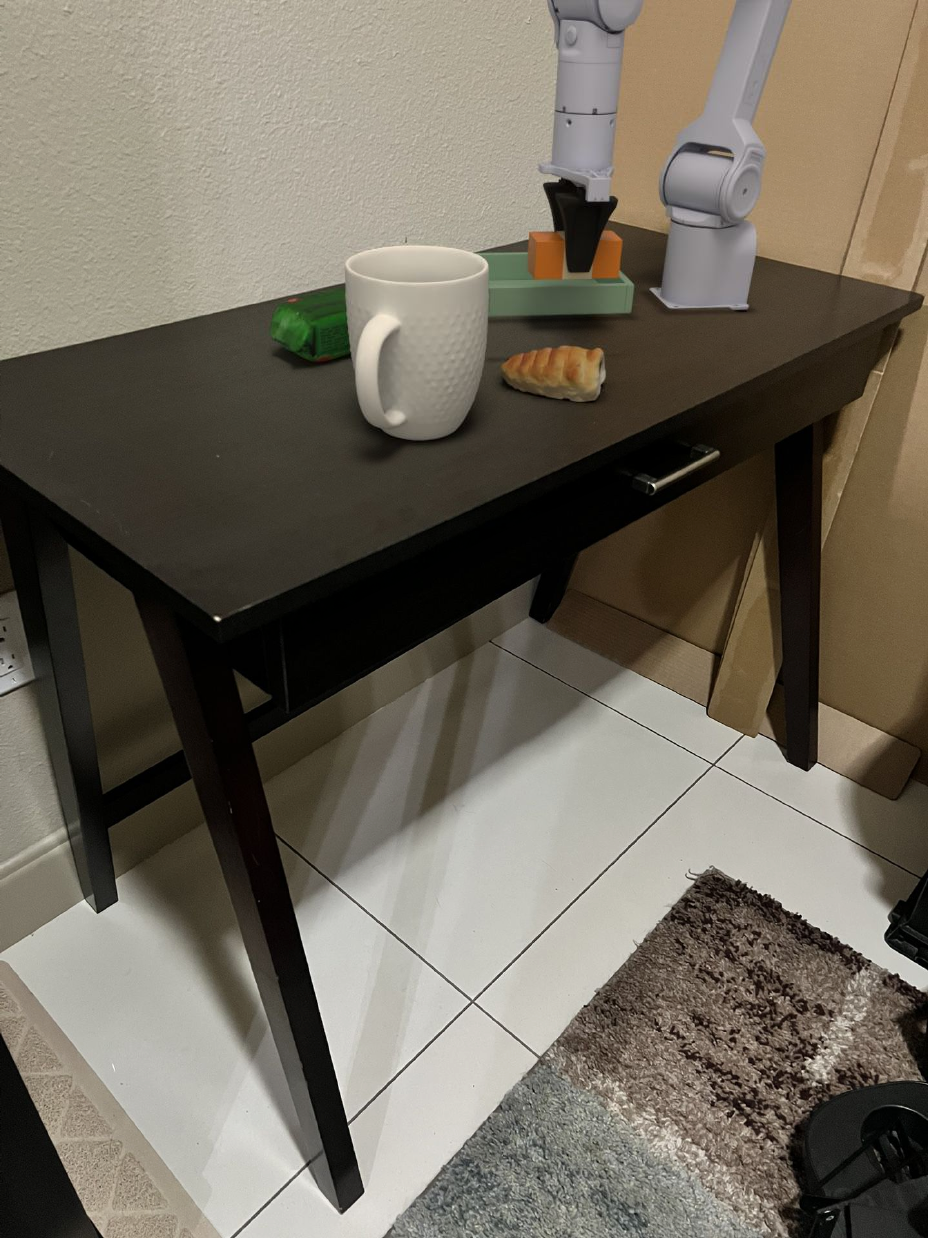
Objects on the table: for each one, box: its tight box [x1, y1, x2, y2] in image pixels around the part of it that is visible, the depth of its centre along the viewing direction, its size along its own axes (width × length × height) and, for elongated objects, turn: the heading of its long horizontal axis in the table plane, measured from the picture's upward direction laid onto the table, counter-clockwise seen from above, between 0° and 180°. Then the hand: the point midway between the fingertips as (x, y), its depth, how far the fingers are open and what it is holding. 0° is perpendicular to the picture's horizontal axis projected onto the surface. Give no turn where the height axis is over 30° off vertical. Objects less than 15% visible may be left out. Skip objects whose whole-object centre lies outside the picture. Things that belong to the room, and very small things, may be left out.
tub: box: [474, 251, 635, 318], centre depth 106 cm, size 17×15×4 cm
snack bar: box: [527, 230, 624, 280], centre depth 92 cm, size 8×4×4 cm, turn 97°
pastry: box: [500, 345, 607, 403], centre depth 83 cm, size 9×7×4 cm
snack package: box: [269, 286, 351, 363], centre depth 91 cm, size 7×16×5 cm, turn 131°
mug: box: [344, 244, 489, 441], centre depth 72 cm, size 15×11×13 cm
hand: (573, 265), depth 92 cm, fingers closed on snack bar, 4 cm apart
